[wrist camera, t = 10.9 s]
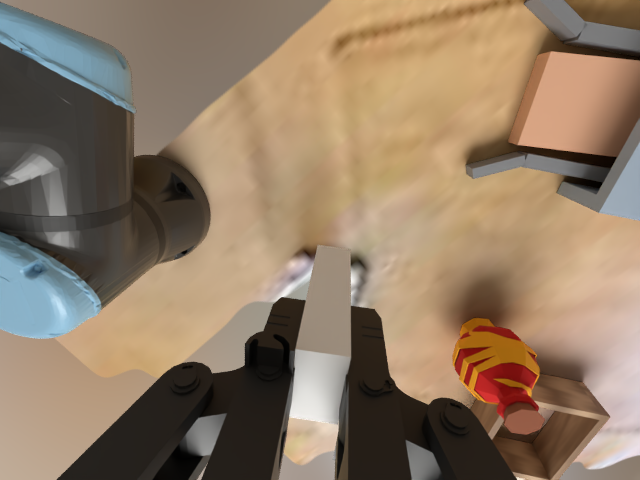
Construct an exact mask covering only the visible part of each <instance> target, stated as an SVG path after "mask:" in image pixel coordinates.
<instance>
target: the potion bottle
mask: <svg viewBox="0 0 640 480" xmlns="http://www.w3.org/2000/svg"><path fill="white" fill-rule="evenodd" d="M460 336H461V338H460V339H459V340H458V342H457V343H456V345H455V349H454V353H453V366H454V367H455V370H456V372H457V373H458V375H459V376H460V378H459V380H460V381H461V382H462V383H463V384H464V385H465V386H466V388H467V389H468V390H469V391H470V392H471V393H472V394H473V396H474V397H476V398H477V399H478V400H482V401H483V402H485V403H490V404H497V405H498V406H497V413H498V414H499V415H500V416H501V417H502V418H503V419H504V425H505V426H506V427H507V428H508V430H509V431H510V432H511V433H517V434H525V435H527V434H530V433H532V432H535V431H537V430H540V429H541V427H542V425H543V423H544V421H545V419H544V418H543V417H542V416H541V415H540V414H539V413H538V410H539V406H538V405H537V404H536V403H535V401H534V400H533V399H532V398H531V395H532V392H531V391H532V389H533V387H534V385H535V383H536V381H537V379H538V377H539V374H540V368H539V366H538V364H537V361H536V359H535V358H536V356H537V355H536V353H535V352H534V351H533V350H532V349H531V348H530V347H528V346H527V345H526V344H525V343H524V342H522V341H521V340H520V338H519V337H518V336H517V335H515V334H514V333H513V332H512V331H511V330H510V329H505V328H501V327H495V326H494V325H493V324H492V323H491V322H490V320H489V319H481V318H473V319H471V320H470V321H468V322H466V323H464V324H462V328H461V331H460ZM467 386H468V387H469V388H470V389H471V390H472V391H473V392H474V393H475V394H476V395H475V394H474V393H473V392H472V391H471V390H470V389H469V388H468V387H467Z"/></svg>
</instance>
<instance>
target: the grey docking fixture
mask: <svg viewBox="0 0 640 480" xmlns="http://www.w3.org/2000/svg"><path fill="white" fill-rule="evenodd" d="M524 5H525V6H526V7H527V8H528V9H529V10H530V11H531V12H532V13H533V14H534V15H535V16H536V17H537V18H538V19H539V20H541V21H542V22H543V23H544V24H545V25H546V26H547V27H548V28H549V29H550V30H551V31H552V32H553V33H554V34H555V35H556V36H557V37H558V38H559V39H560V40H561V41H563V40H564V43H563V44H566V45H572V46H578V47H584V48H590V49H595V50H601V51H607V52H613V53H618V54H624V55H630V56H636V57H640V30H634V29H628V28H622V27H616V26H610V25H605V24H599V23H593V22H587V21H586V22H585V21H584V20H583V19H582V18H581V17H580V16H579V15H578V14H577V13H576V12H575V11H574V10H573V9H572V8H571V7H570V6H569V5H568V4H567V3H566V2H565V1H564V0H526V2H525V3H524ZM518 167H525V168H530V169H535V170H541V171H546V172H551V173H557V174H562V175H567V176H573V177H578V178H583V179H589V180H594V181H599V182H603V184H602V186H601V187H600V188H596V187H590V186H585V185H580V184H574V183H569V182H564V181H563V182H562V184H561V186H560V188H559V190H558V192H557V193H558V194H560V195H562V196H564V197H566V198H568V199H570V200H573V201H575V202H577V203H579V204H581V205H583V206H585V207H588V208H590V209H592V210H594V211H596V212H598V213H603V214H608V215H613V216H619V217H624V218H629V219H634V220H639V221H640V118H639V120H638V121H637V123H636V125H635V127H634V129H633V130H632V132H631V134H630V136H629V138H628V139H627V141H626V143H625V145H624V146H623V148H622V150H621V152H620V154H619V155H618V157H617V159H616V161H615V162H614V164H613V166H612V168H609V167H604V166H598V165H593V164H588V163H582V162H577V161H571V160H566V159H561V158H555V157H550V156H545V155H539V154H534V153H528V152H523V151H518V152H513V153H509V154H505V155H501V156H498V157H494V158H490V159H486V160H482V161H479V162H475V163H471V164H467V165H466V171H467V175H469V176H470V177H472V178H473V179H475V178H479V177H483V176H487V175H491V174H495V173H498V172H502V171H506V170H510V169H514V168H518Z"/></svg>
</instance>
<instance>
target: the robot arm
mask: <svg viewBox="0 0 640 480" xmlns="http://www.w3.org/2000/svg"><path fill="white" fill-rule="evenodd" d="M134 113H136V108H135V106H134V105H133V93H132V74H131V69H130V66H129V64H128V61H127V60H126V58H125V57H124V56H123V55H122V53H121V52H119V51H118V50H117V49H116V48H114V47H113V46H111V45H109V44H107V43H105V42H102V41H100V40H98V39H95V38H93V37H90V36H88V35H85V34H83V33H80V32H78V31H75V30H72V29H70V28H67V27H65V26H62V25H60V24H57V23H54V22H52V21H49V20H47V19H44V18H42V17H38V16H36V15H34V14H31V13H28V12H25V11H23V10H20V9H18V8H15V7H12V6H9V5H7V4H4V3H1V2H0V329H1V330H4V331H7V332H9V333H12V334H16V335H19V336H24V337H29V338H40V339H41V338H53V337H58V336H61V335H63V334H66V333H68V332H70V331H72V330H73V329H75V328H76V327H77V326H79V325H80V324H82V323H83V322H84V321H86V320H87V319H89V318H91V317H95V316H96V315H97V314H98V313H99V312H100V310H101V309H103V308H104V307H105V306H106V305H107V304H109V303H110V302H111V301H112V300H113V299H115V298H116V297H117V296H118V295H119V294H121V293H122V292H123V291H124V290H125V289H127V288H128V287H129V286H130V285H131V284H133V283H134V282H135V281H136V280H137V279H139V278H140V277H141V276H142V275H143V274H145V273H146V272H147V271H148V270H150V269H151V268H152V267H153V266H155V265H158V264H161V263H165V262H168V261H172V260H176V259H179V258H182V257H184V256H186V255H187V254H189V253H190V252H192V251H193V250H194V249H195V248H196V247H197V246H198V245H199V244H200V243H201V242H202V241H203V240H204V238H205V237H206V235H207V232H208V230H209V226H210V209H209V204H208V201H207V198H206V195H205V193H204V191H203V189H202V188H201V186H200V185H199V183H198V182H197V181H196V179H195V178H194V177H193V176H192V175H191V174H190V173H189V172H188V171H187V170H186V169H184V168H183V167H182V166H180V165H179V164H177V163H175V162H173V161H171V160H169V159H167V158H164V157H160V156H155V155H141V156H136V157H134ZM289 417H292V418H298V419H305V420H311V421H318V422H325V423H331V424H338V421H339V432H338V437H337V442H336V447H335V452H334V457H333V460H335V480H517V479H516V477H515V476H514V474H513V472H512V471H511V469H510V468H509V466H508V465H507V463H506V461H505V460H504V458H503V457H502V455H501V454H500V452H499V451H498V449H497V447H496V446H495V444H494V443H493V441H492V440H491V438H490V436H489V435H488V433H487V432H486V430H485V429H484V427H483V426H482V424H481V422H480V421H479V419H478V418H477V417H476V416H475V414H474V413H473V412H472V411H471V410H470V409H469V408H467V407H466V406H465V405H463V404H462V403H460V402H458V401H455V400H453V399H450V398H438V399H434V400H433V401H432V402H431V403H430V404H429V405H428V404H425V403H423V402H421V401H418V400H416V399H414V398H412V397H410V396H408V395H406V394H405V393H403V392H402V391H401V390H400V389H398V387H397V386H396V384H395V382H394V380H393V379H392V378H391V377H390V374H389V369H388V362H387V356H386V349H385V342H384V335H383V328H382V321H381V318H380V316H379V315H378V314H377V312H376V311H375V309H370V308H362V307H355V306H351V269H350V249H344V248H337V247H330V246H322V245H318V247H317V251H316V256H315V261H314V265H313V270H312V275H311V279H310V284H309V288H308V293H307V298H306V300H298V299H291V298H284V297H281V298H280V299H279V300H278V301H277V302H276V303H274V304H273V306H272V309H271V312H270V315H269V317H268V320H267V324H266V325H265V328H264V331H262V332H258V333H256V334H254V335H253V336H251V337H250V338H249V339H248V341H247V342H246V343H245V365H244V366H243V367H241V368H239V369H236V370H233V371H228V372H221V373H213V374H212V372H211V370H210V368H209V367H207V366H206V365H204V364H202V363H197V362H187V363H182V364H179V365H177V366H174V367H172V368H171V369H170V370H168V371H167V372H166V373H164V374H163V375H162V376H161V377H160V378H159V379H158V380H157V381H156V382H155V383H154V384H153V385H152V386H151V387H150V388H149V389H148V390H147V391H146V392H145V393H144V394H143V395H142V396H141V397H140V398H139V399H138V400H137V401H136V402H135V403H134V404H133V405H132V406H131V407H130V408H129V409H128V410H127V411H126V412H125V413H124V414H123V415H122V416H121V417H120V418H119V419H118V420H117V421H116V422H115V423H114V424H113V425H112V426H111V427H110V428H109V429H107V430H106V431H105V432H104V433H103V434H102V435H101V436H100V437H99V438H98V439H97V440H96V441H95V442H94V443H93V444H92V445H91V446H90V447H89V448H88V449H87V450H86V451H85V452H84V453H83V454H82V455H81V456H80V457H79V458H78V459H77V460H76V461H75V462H74V463H73V464H72V465H71V466H70V467H69V468H68V469H67V470H66V471H65V472H64V473H63V474H62V475H61V476H60V477H59V478H58V479H57V480H197V478H198V477H199V475H200V474H201V472H202V470H203V469H204V467H205V466H206V464H207V463H208V464H207V466H206V469H205V471H204V474H203V477H202V479H201V480H278V479H279V474H280V469H281V463H282V458H283V453H284V447H285V442H286V436H287V426H288V420H289Z"/></svg>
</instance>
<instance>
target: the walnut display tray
mask: <svg viewBox="0 0 640 480" xmlns="http://www.w3.org/2000/svg"><path fill="white" fill-rule="evenodd" d="M531 392H532V395H531V398H532V399H533V400H534V401H535V403H536V404H537V405H538V406H539V407H541V408H545V409H550V410H555V412H554V413H553V415H552V416H551V418H550V419H549V420H548V422H547V423H546V425H545V426H544V427H543V429H542V430H541V432H540V433H539V434H538V436H537V437H536V439H535V440H534V441H533V443H532V444H531V443H526V442H522V441H517V440H513V439H508V438H503V437H499V436H495V434H496V433H497V431H498V430H499V428H500V426H501V425H502V423H503V422H504V419H503V418H502V417H501V416H500V415H499V414H498V413H497V406H498V405H497V404H490V403H485V402H483V401H482V400H478V399H477V398H476V400H475V402H474V404H473V405H472V407H471V409H470V410H471V411H472V412H473V413H474V414H475V416H476V417H477V418H478V419H479V421H480V422H481V424H482V426H483V427H484V429H485V430H486V432H487V433H488V435H489V436H490V438H491V440H492V441H493V443H494V444H495V446H496V447H497V449H498V451H499V452H500V454H501V455H502V457H503V458H504V460H505V461H506V463H507V465H508V466H509V468H510V469H511V471H512V472H513V474H514V476H515V477H519V478H524V479H528V480H558V479H559V478H560V477H561V475H562V474H563V473H564V472H565V471H566V469H567V468H568V467H569V466H570V465H571V464H572V462H573V461H574V460H575V459H576V458H577V456H578V455H579V454H580V453H581V452H582V450H583V449H584V448H585V447H586V446H587V445H588V443H589V442H590V441H591V440H592V439H593V437H594V436H595V435H596V434H597V433H598V431H599V430H600V429H601V428H602V427H603V425H604V424H605V423H606V422H607V421H608V419H609V418H610V416H609V414H608V413H607V412H606V411H605V409H604V408H603V407H602V406H601V404H600V403H599V402H598V401H597V399H596V398H595V397H594V396H593V394H592V393H591V392H590V391H589V389H588V388H587V387H586V386H585V384H584V383H583V382H579V381H574V380H569V379H564V378H560V377H555V376H550V375H545V374H541V373H540V374H539V377H538V379H537V381H536V383H535V385H534V387H533V389H532V391H531Z"/></svg>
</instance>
